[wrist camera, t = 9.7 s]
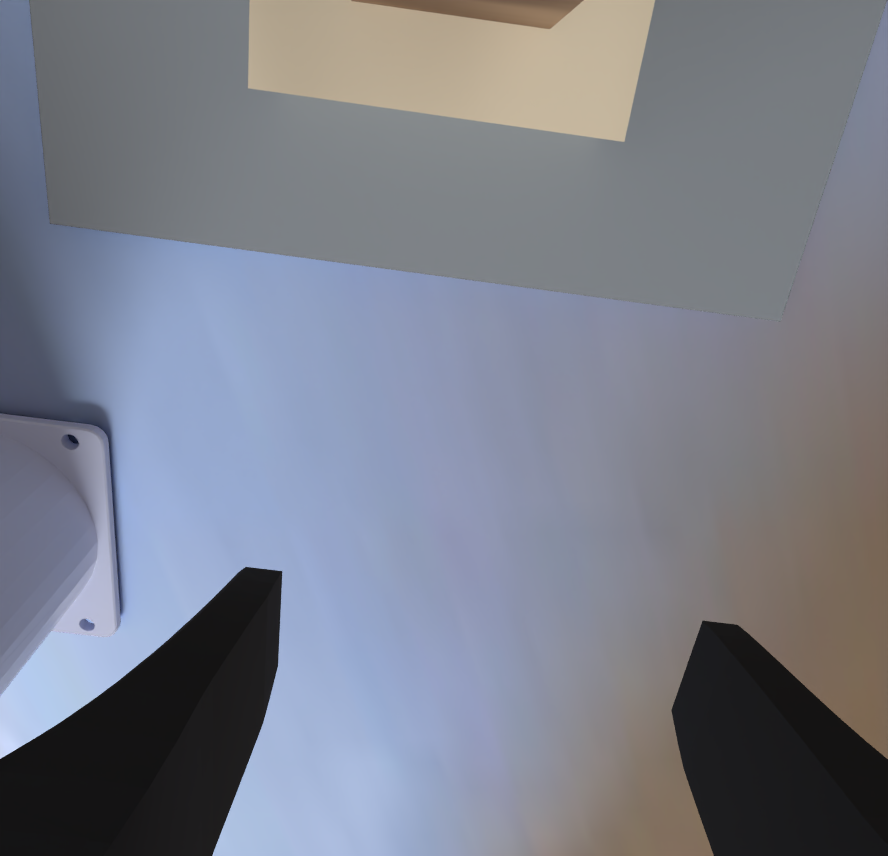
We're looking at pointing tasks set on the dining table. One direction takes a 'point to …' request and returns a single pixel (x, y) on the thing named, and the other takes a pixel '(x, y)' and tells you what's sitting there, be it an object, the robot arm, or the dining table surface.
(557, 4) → the walnut block
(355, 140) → the grey board with block
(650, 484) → the dining table surface
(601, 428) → the dining table surface
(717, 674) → the robot arm
